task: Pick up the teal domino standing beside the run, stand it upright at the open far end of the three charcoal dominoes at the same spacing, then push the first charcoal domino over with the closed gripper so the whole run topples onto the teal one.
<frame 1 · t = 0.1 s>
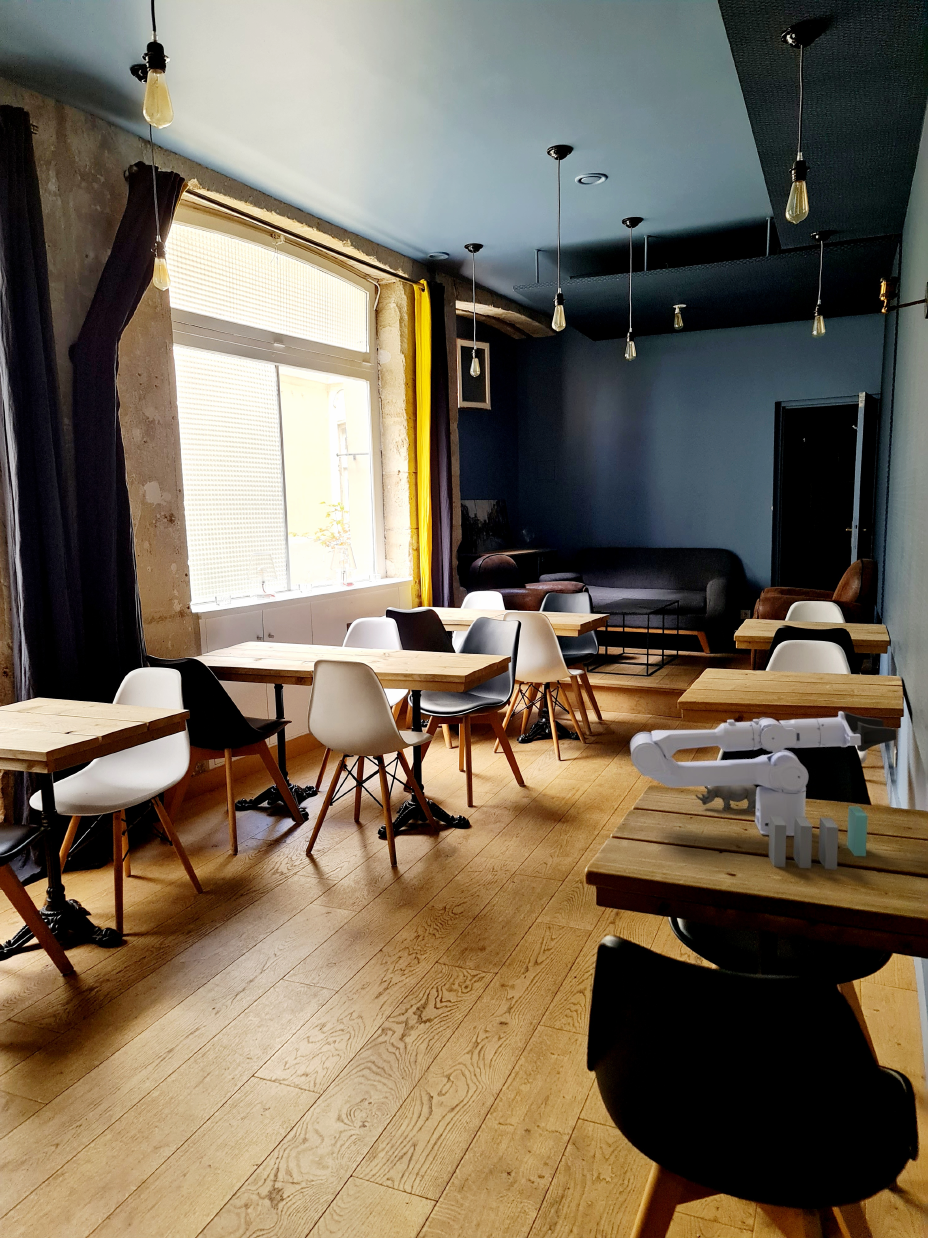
hand: (889, 729, 170), 22 cm above the table, tool horizontal, fingers open, 7 cm apart
teal domino: (856, 851, 164), on the table
charcoal domino 1: (776, 861, 160), on the table
charcoal domino 2: (801, 862, 159), on the table
rhino figurine: (726, 809, 189), on the table
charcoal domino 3: (827, 864, 159), on the table
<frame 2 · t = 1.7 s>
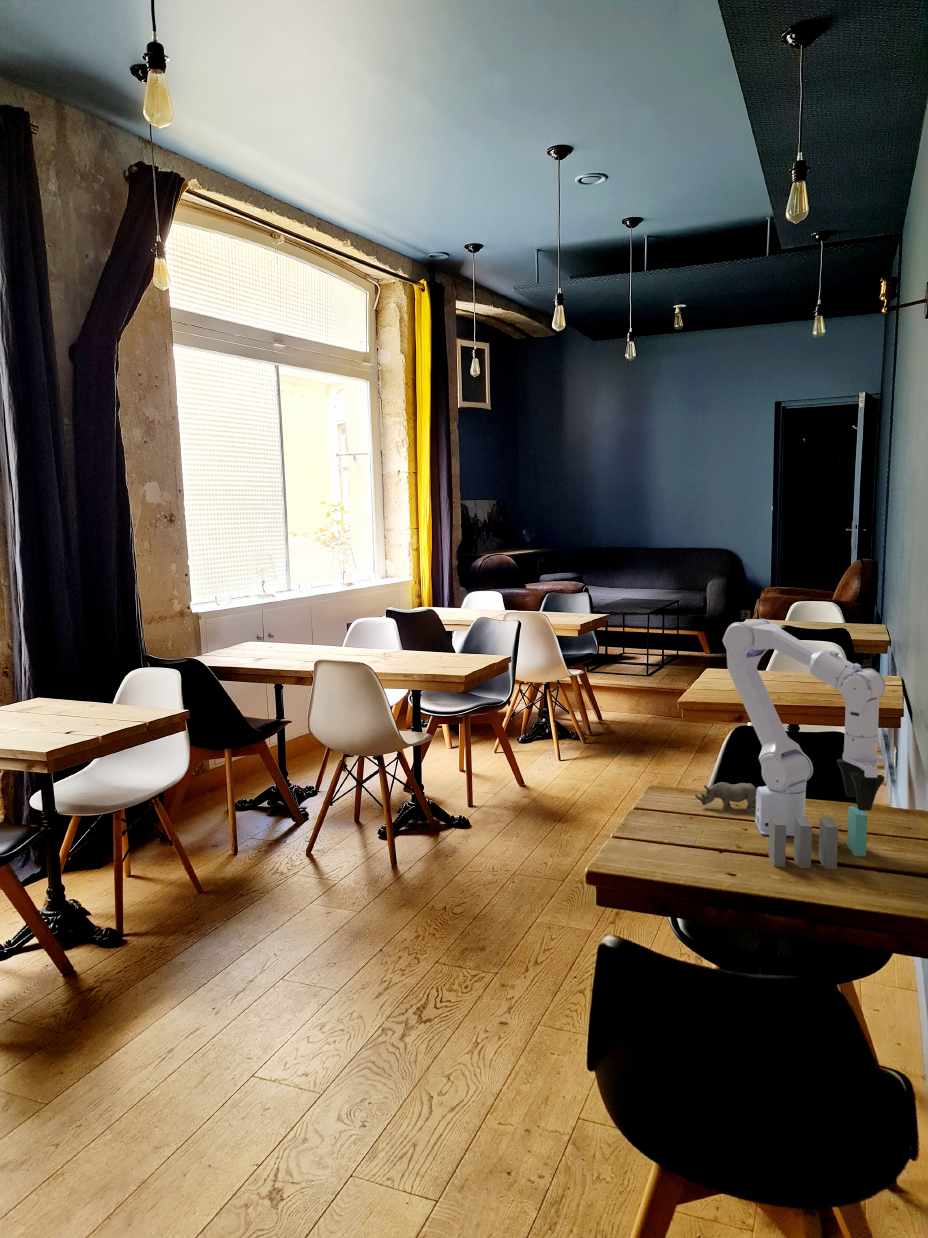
hand: (858, 803, 163), 9 cm above the table, tool pointing down, fingers open, 7 cm apart
nothing on the table moved.
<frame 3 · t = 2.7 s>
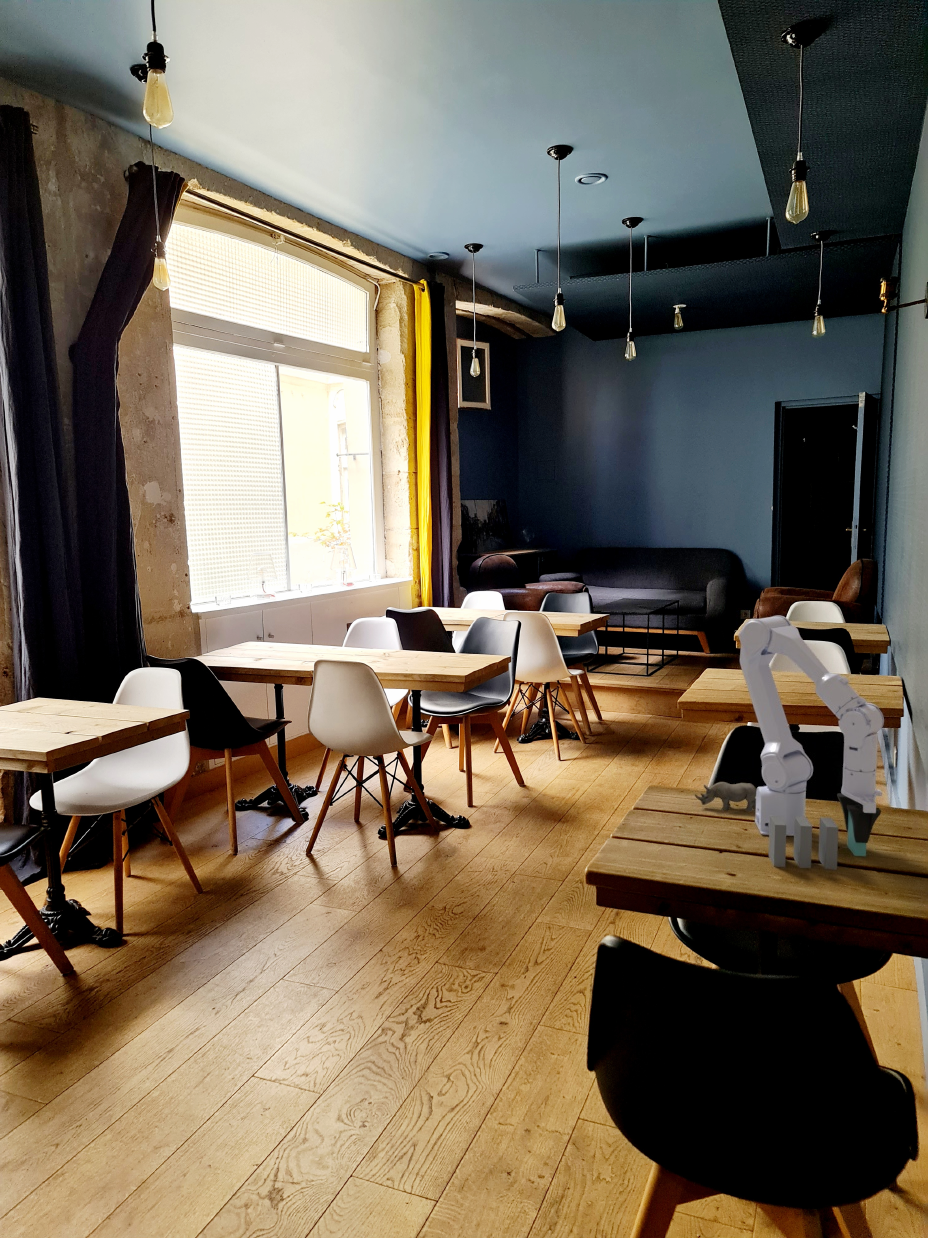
hand: (856, 836, 164), 3 cm above the table, tool pointing down, fingers closed on teal domino, 5 cm apart
teal domino: (856, 851, 164), on the table, touching gripper
everything else where it was.
when the fingers open (4 cm above the table, at t = 6.8 s): teal domino stays where it is, on the table.
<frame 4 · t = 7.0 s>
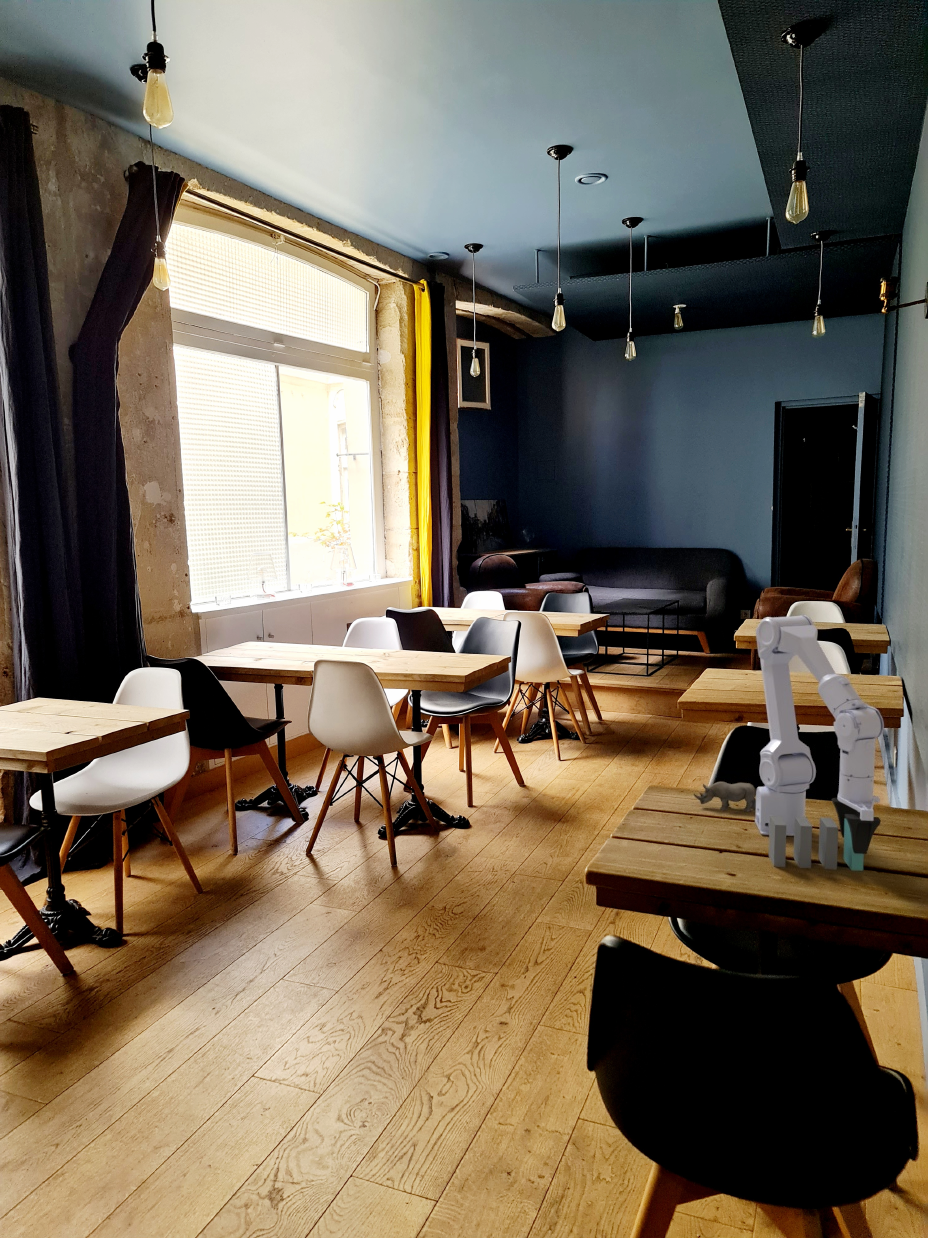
hand: (853, 845, 158), 4 cm above the table, tool pointing down, fingers open, 7 cm apart
teal domino: (853, 865, 158), on the table
everything else where it was.
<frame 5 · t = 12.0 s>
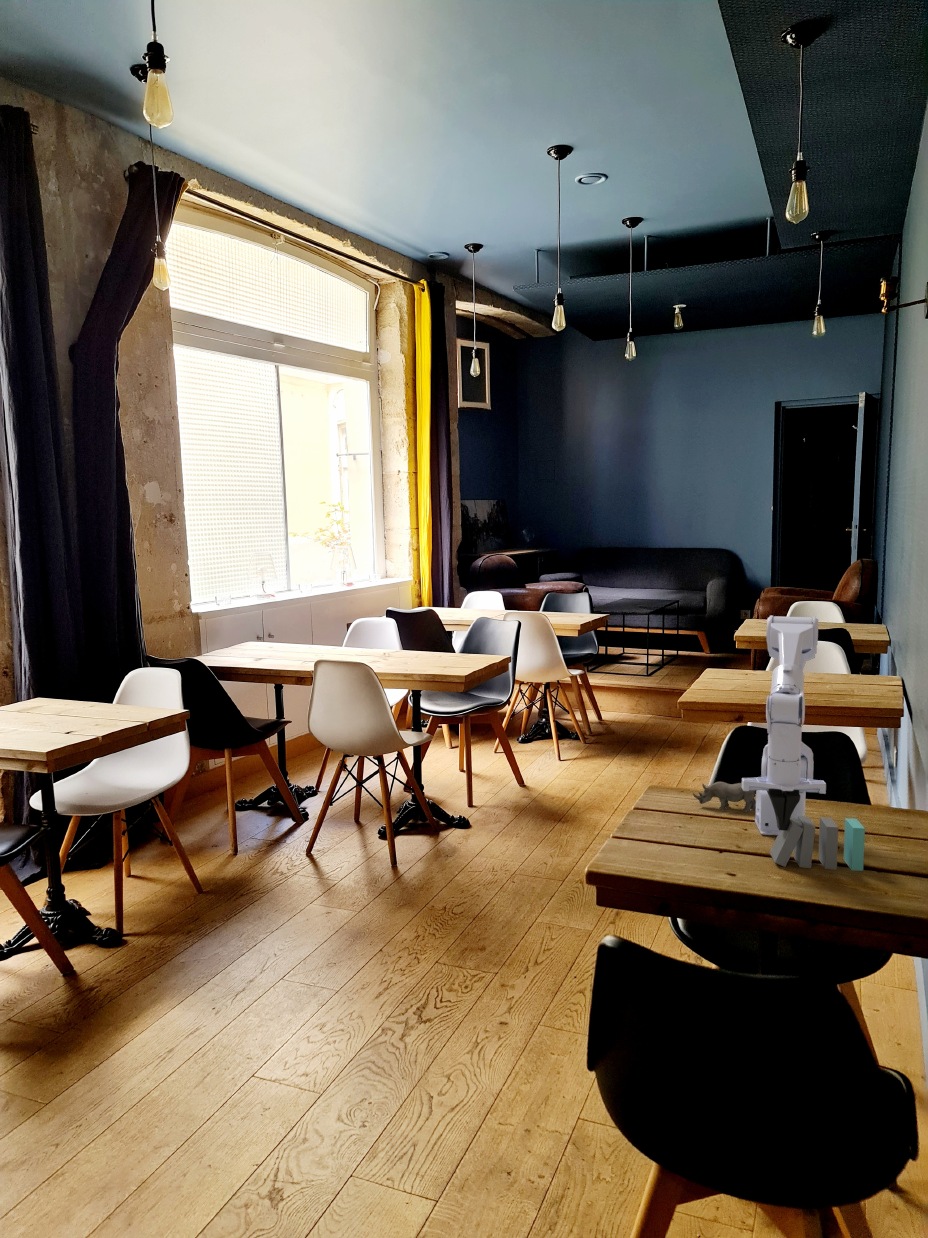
hand: (782, 828, 159), 6 cm above the table, tool pointing down, fingers closed
charcoal domino 1: (777, 859, 160), on the table, tilted 22°
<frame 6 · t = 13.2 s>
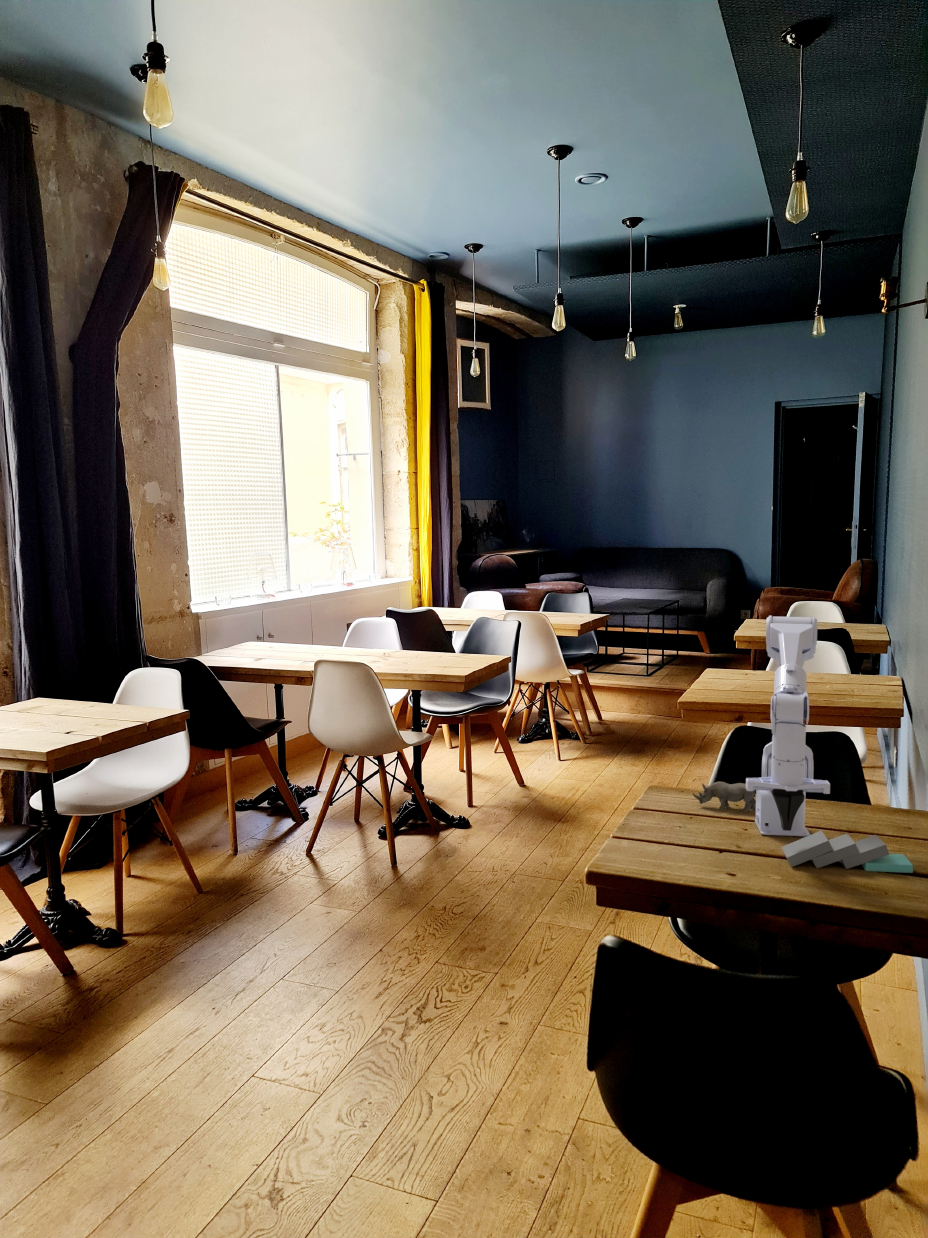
hand: (786, 828, 159), 6 cm above the table, tool pointing down, fingers closed
teal domino: (861, 863, 158), on the table, tilted 90°, touching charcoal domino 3
charcoal domino 1: (786, 857, 160), point 1 cm above the table, tilted 63°, touching charcoal domino 2
charcoal domino 2: (811, 858, 159), point 1 cm above the table, tilted 66°, touching charcoal domino 1, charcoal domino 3
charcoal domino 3: (839, 859, 158), point 1 cm above the table, tilted 68°, touching charcoal domino 2, teal domino
everything else where it was.
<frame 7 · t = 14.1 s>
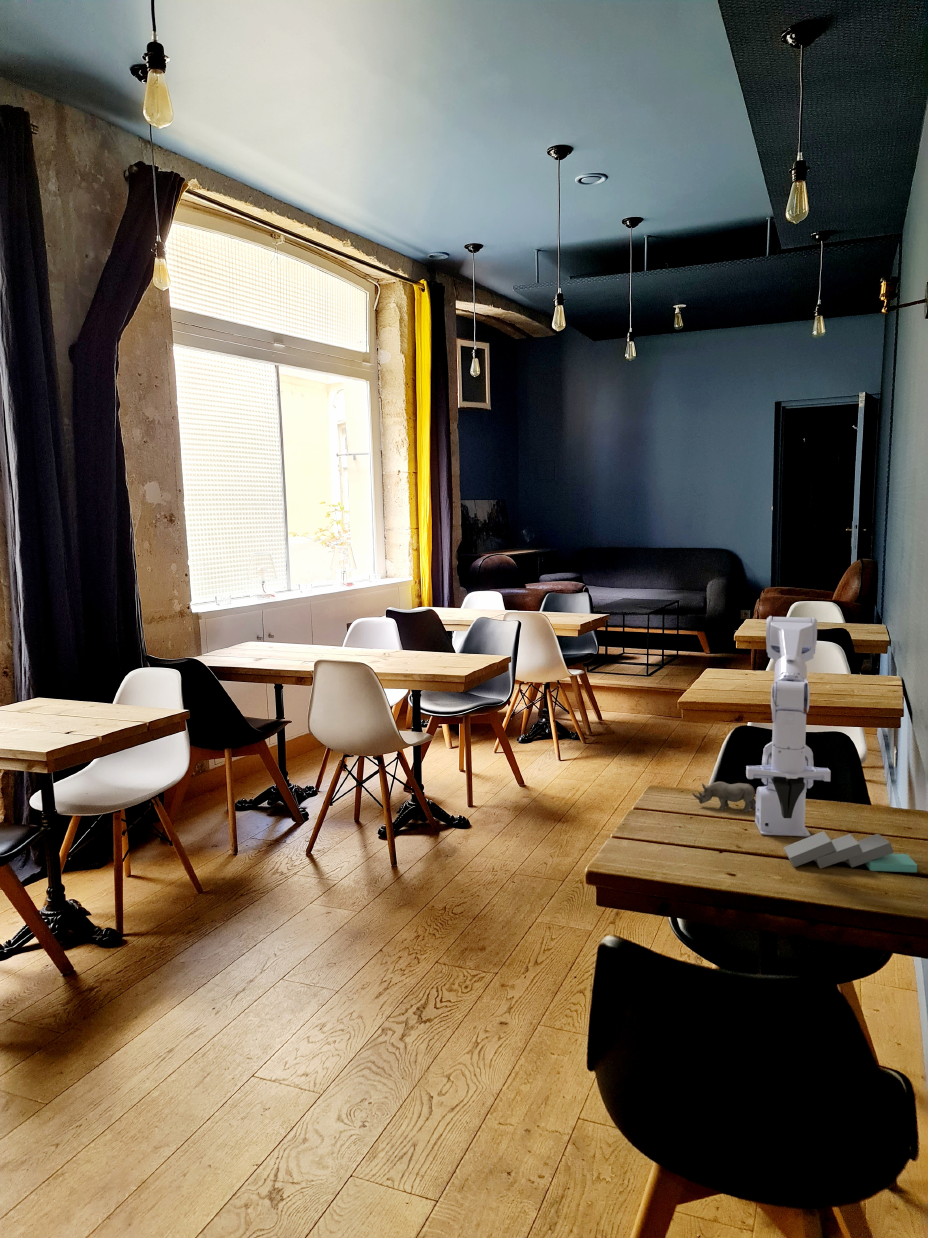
hand: (786, 816, 159), 9 cm above the table, tool pointing down, fingers closed
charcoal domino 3: (844, 857, 159), point 1 cm above the table, tilted 69°, touching charcoal domino 2, teal domino
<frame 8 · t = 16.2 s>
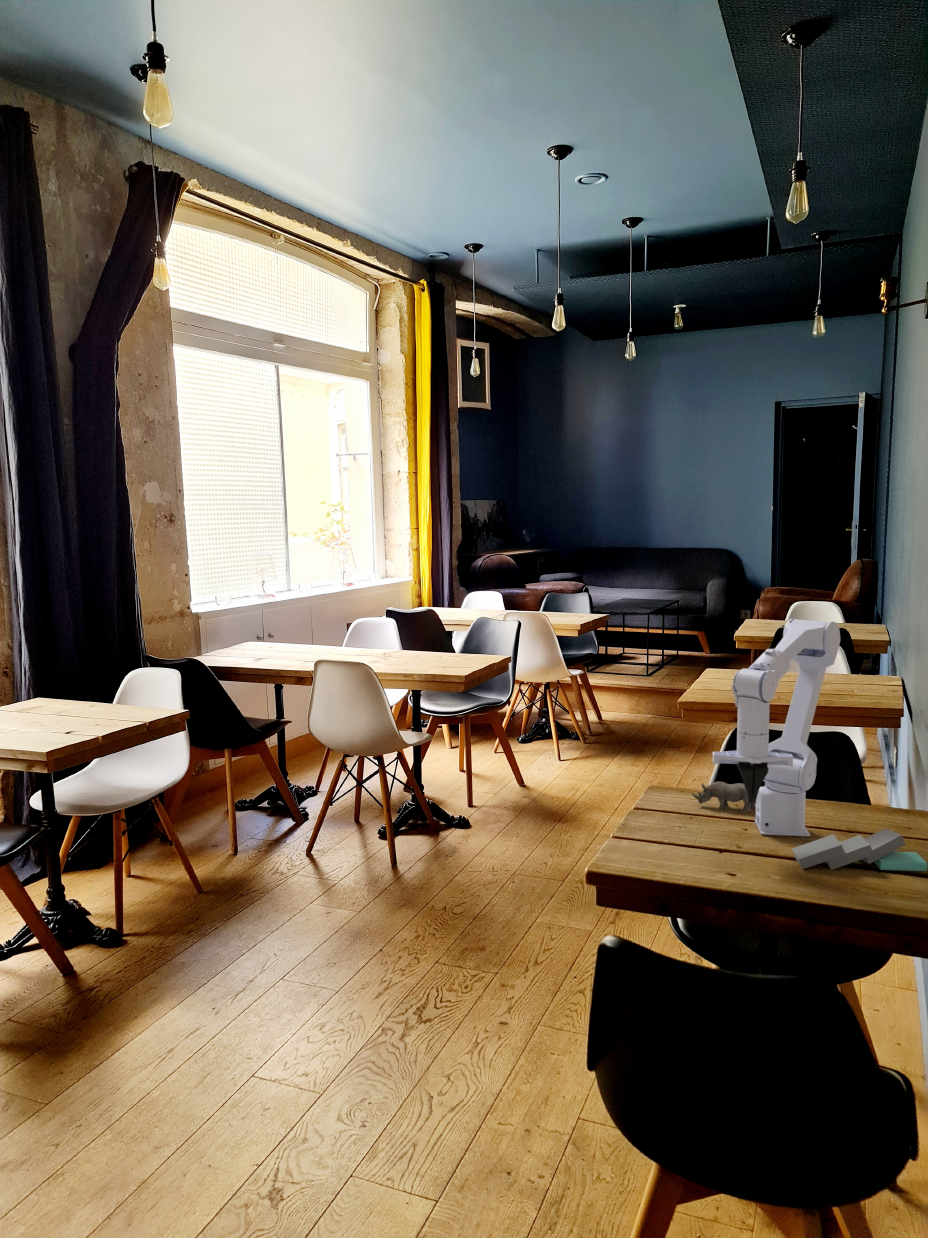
hand: (751, 800, 164), 10 cm above the table, tool pointing down, fingers closed
teal domino: (875, 861, 158), point 1 cm above the table, tilted 90°, touching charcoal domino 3
charcoal domino 1: (797, 859, 159), point 1 cm above the table, tilted 67°, touching charcoal domino 2
charcoal domino 2: (824, 859, 158), point 1 cm above the table, tilted 67°, touching charcoal domino 1
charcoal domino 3: (858, 855, 159), point 1 cm above the table, tilted 68°, touching teal domino
everything else where it was.
at the end: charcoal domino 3 tilted 68°; teal domino tilted 90°; teal domino inside the target area (2.8 cm from its centre), point 0.5 cm above the table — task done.
